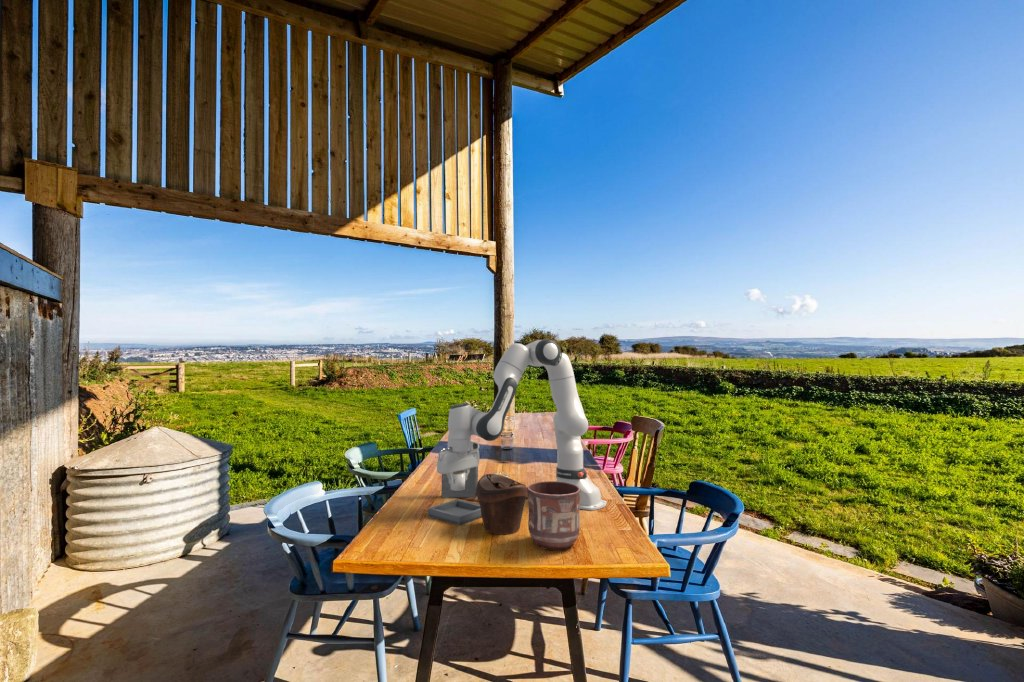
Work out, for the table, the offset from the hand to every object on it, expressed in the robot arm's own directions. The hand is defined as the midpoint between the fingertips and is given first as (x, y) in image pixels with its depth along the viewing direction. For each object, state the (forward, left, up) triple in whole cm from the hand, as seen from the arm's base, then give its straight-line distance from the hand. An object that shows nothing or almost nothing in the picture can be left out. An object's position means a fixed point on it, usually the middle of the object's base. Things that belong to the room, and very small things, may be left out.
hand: (458, 482), depth 183 cm
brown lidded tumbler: (-23, +1, -13) cm, 26 cm away
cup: (0, 0, -3) cm, 3 cm away
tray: (0, 0, -13) cm, 13 cm away
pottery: (-45, +2, -13) cm, 47 cm away
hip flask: (+18, -20, -13) cm, 30 cm away
